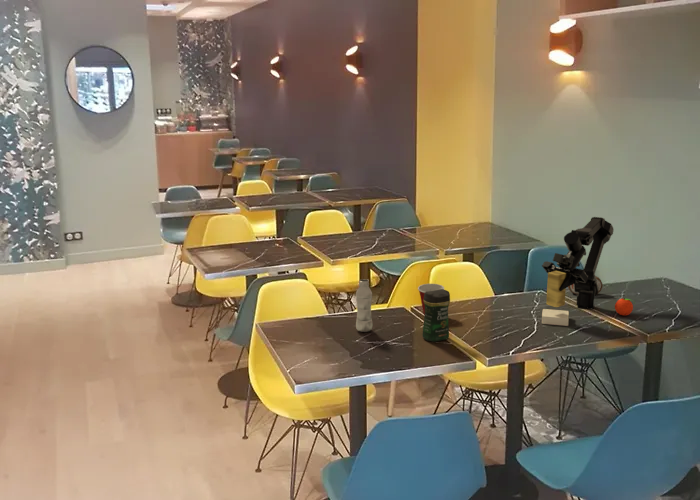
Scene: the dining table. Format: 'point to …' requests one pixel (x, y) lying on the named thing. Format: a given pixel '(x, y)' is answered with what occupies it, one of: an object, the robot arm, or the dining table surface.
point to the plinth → (555, 317)
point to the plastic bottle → (364, 306)
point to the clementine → (624, 306)
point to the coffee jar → (436, 315)
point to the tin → (578, 292)
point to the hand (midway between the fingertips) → (554, 289)
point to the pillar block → (555, 289)
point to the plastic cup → (426, 288)
